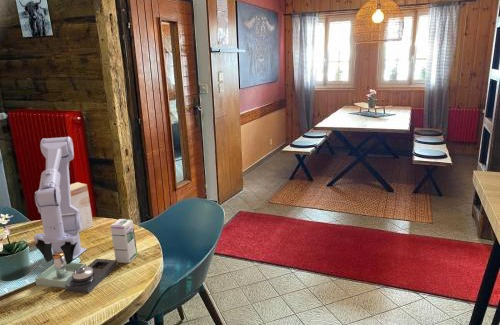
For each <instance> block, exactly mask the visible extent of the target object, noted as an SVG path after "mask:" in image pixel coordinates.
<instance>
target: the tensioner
mask: <svg viewBox="0 0 500 325" xmlns="http://www.w3.org/2000/svg"><path fill="white" fill-rule="evenodd" d="M116 267H118V262H117V260H116V259H105V258H95V259H94V260H93V261H92V262H90V263H89V264H88V265H86V267H81V268H78V269H76V270H75V271H73V273H72V280H71V281H70V282H68V283H67V284H66V285H65V288H64V290H65V292H67V293H80V294H90V293H91V292H92V291H93V290H94V289H95V288H96V287H97V286H98V285H99V284H100V283H101V282H102V281H103V280H104V279H105V278H106V277H107V276H108V275H109V274H110V273H111V272H112V271H113V270H114V269H115V268H116Z"/></svg>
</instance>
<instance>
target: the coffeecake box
mask: <svg viewBox="0 0 500 325" xmlns="http://www.w3.org/2000/svg"><path fill="white" fill-rule="evenodd" d="M70 191H71V205H72V206H74V207H76V208H77V209H79V211H80V214H81V219H82V228H81V229H80V230H79V233H81V232H83V231H86V230H88V229H91V228H93V227H94V221H93V220H94V219H93V215H92V214H93V213H92V208H91V202H90V196H89V188H88V184H87V183H83V182H82V183H81V182H78V181H77V182H74V183H70ZM71 214H74V213H68V214H61V216H63V215H71Z"/></svg>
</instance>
